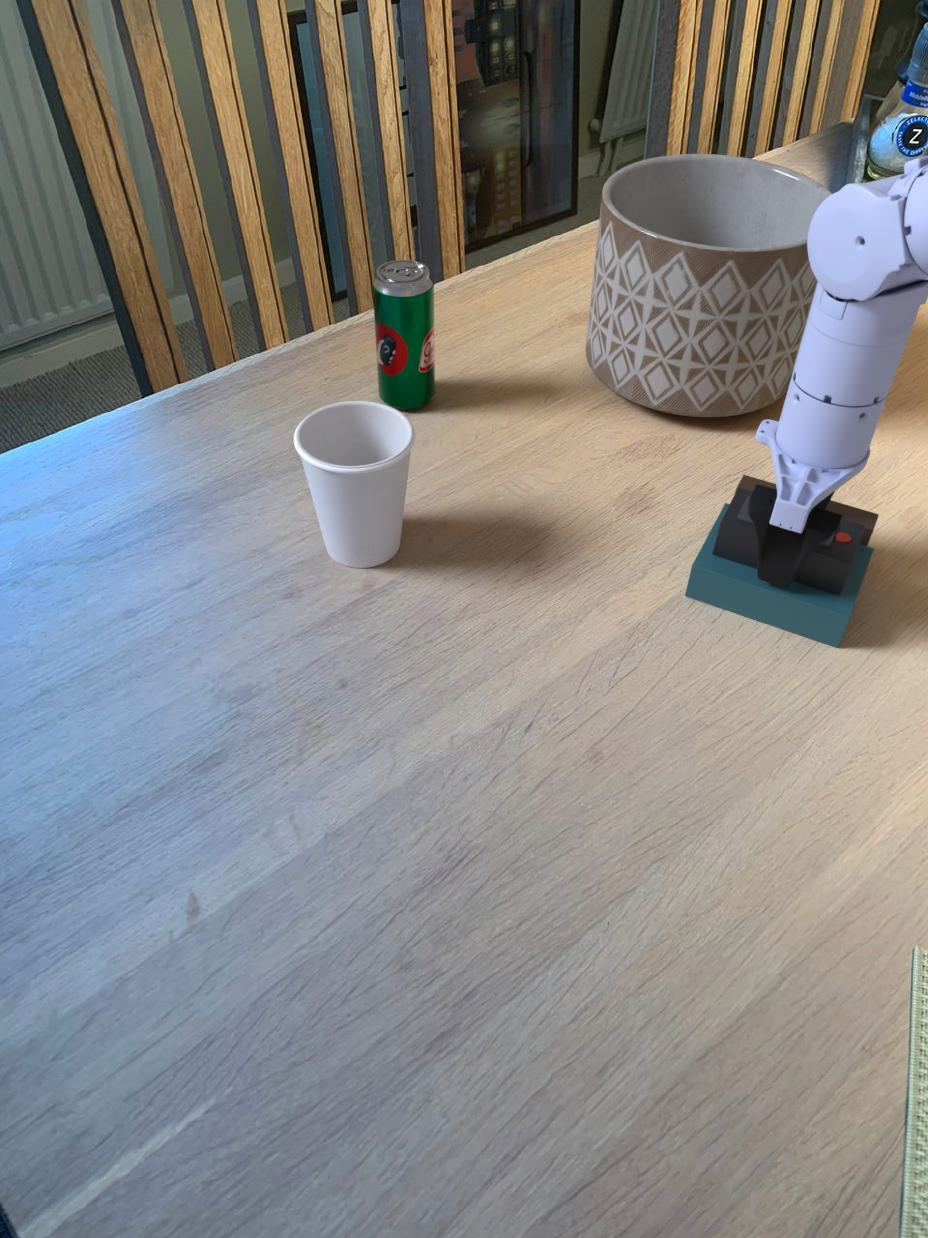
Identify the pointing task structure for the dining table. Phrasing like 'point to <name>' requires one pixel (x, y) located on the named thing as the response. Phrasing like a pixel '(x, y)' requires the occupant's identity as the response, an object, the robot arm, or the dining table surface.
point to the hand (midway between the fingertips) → (786, 551)
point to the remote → (819, 569)
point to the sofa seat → (775, 604)
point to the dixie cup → (357, 477)
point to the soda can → (404, 334)
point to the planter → (702, 282)
